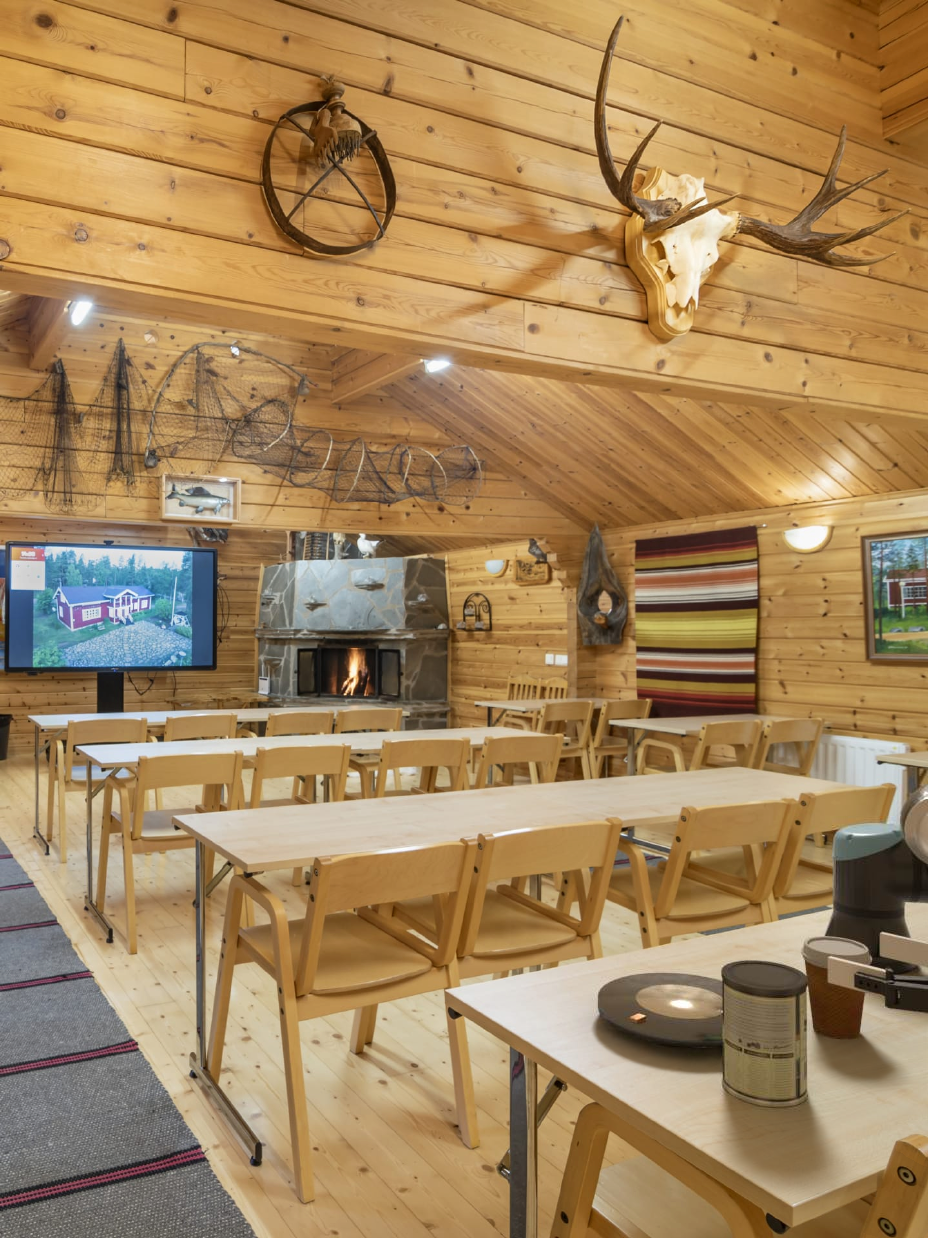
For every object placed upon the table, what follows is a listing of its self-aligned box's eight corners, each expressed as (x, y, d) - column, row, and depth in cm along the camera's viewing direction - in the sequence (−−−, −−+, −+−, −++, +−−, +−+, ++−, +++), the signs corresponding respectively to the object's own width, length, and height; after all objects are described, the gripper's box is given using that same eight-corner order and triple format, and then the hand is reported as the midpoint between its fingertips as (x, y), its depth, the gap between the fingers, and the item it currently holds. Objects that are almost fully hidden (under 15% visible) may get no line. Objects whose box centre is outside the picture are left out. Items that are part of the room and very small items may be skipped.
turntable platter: (660, 971, 153) (660, 958, 153) (799, 1014, 135) (799, 999, 135) (563, 1009, 136) (564, 995, 136) (708, 1064, 119) (708, 1047, 119)
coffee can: (711, 1069, 122) (711, 959, 122) (789, 1069, 122) (789, 959, 122) (735, 1108, 111) (735, 988, 112) (821, 1108, 112) (821, 988, 112)
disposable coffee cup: (879, 1047, 129) (879, 959, 129) (806, 1040, 131) (806, 953, 131) (864, 1020, 138) (864, 937, 139) (796, 1014, 140) (796, 933, 140)
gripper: (1029, 1085, 84) (804, 1017, 100) (1101, 1014, 101) (900, 965, 117) (1028, 1000, 85) (804, 945, 100) (1100, 944, 102) (900, 904, 117)
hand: (855, 956), depth 108 cm, fingers open, 13 cm apart
